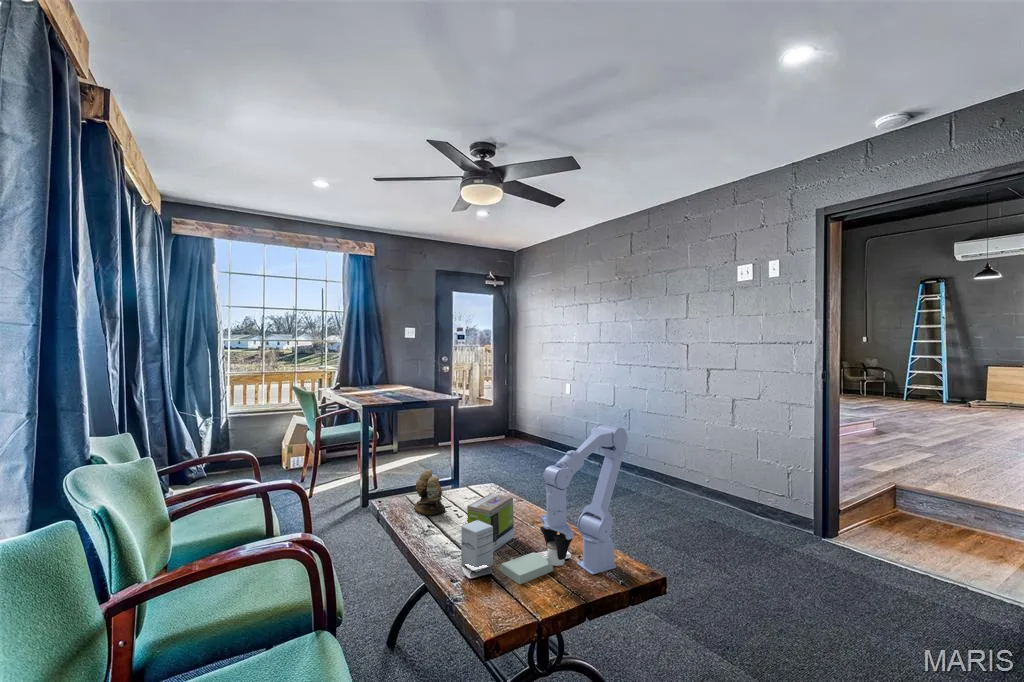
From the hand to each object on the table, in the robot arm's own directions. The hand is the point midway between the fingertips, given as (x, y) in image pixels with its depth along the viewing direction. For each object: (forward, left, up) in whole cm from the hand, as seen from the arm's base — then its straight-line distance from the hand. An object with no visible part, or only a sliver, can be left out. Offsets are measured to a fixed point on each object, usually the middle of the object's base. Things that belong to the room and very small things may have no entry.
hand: (556, 554), depth 138 cm
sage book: (+4, -10, -9) cm, 14 cm away
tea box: (+5, -34, -9) cm, 35 cm away
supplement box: (+16, -21, -9) cm, 28 cm away
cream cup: (0, 0, -2) cm, 2 cm away
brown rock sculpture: (+14, -75, -9) cm, 77 cm away
